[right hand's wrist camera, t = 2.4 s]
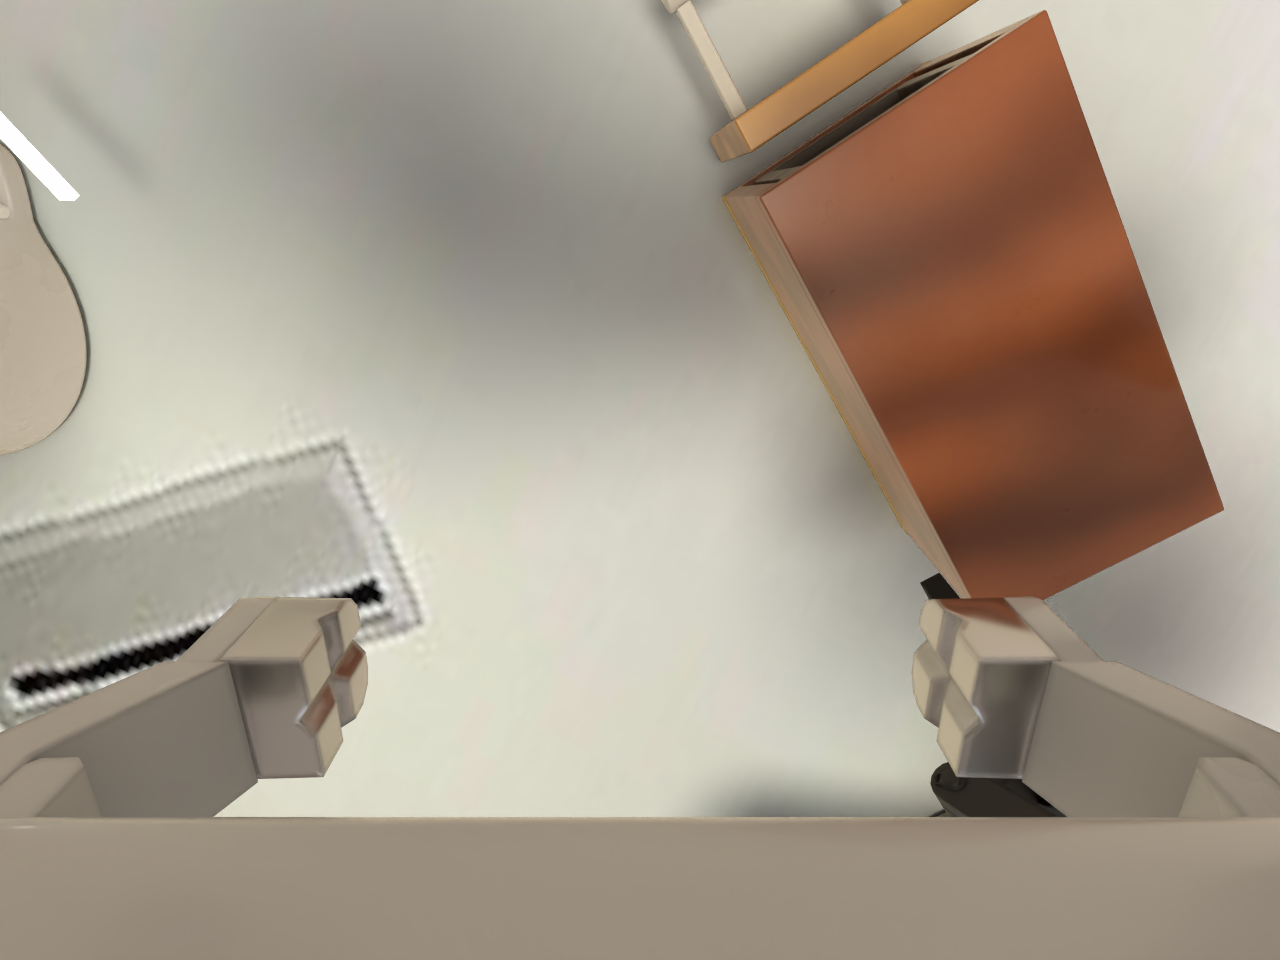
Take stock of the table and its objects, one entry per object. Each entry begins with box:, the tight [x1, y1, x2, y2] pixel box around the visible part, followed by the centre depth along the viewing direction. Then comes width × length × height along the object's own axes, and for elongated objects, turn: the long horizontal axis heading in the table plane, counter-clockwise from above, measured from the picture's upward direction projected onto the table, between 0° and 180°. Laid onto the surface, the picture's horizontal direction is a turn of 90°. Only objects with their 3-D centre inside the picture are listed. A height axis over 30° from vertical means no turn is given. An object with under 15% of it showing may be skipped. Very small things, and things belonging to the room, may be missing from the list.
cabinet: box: [722, 10, 1224, 600], centre depth 31 cm, size 20×10×10 cm, turn 32°
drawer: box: [661, 0, 979, 185], centre depth 30 cm, size 25×9×8 cm, turn 32°
